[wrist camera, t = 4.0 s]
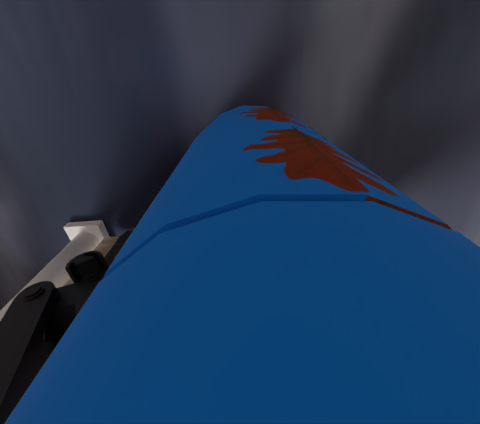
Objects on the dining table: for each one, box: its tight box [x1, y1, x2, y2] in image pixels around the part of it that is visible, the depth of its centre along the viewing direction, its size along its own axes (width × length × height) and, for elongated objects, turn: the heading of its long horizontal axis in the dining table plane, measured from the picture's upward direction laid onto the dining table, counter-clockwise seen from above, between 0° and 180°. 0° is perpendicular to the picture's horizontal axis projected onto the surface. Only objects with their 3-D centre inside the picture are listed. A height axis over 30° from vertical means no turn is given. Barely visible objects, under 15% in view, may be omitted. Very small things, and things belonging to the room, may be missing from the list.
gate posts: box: [0, 220, 109, 321], centre depth 21 cm, size 32×4×16 cm, turn 95°
